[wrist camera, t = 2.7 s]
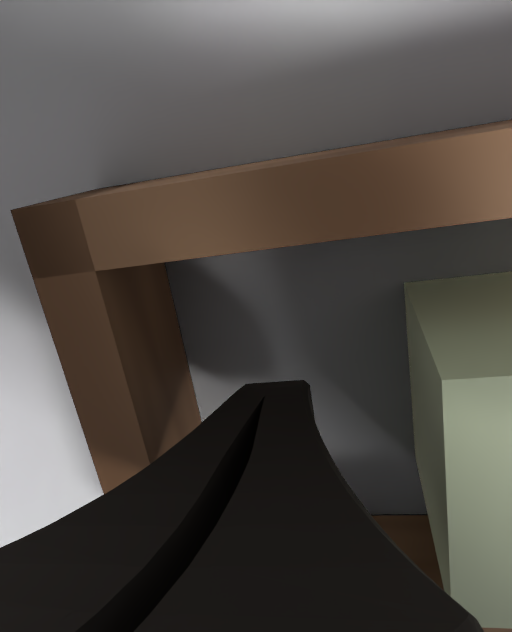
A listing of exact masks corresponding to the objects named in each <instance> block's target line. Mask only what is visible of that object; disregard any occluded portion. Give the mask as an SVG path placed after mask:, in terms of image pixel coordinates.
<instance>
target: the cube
mask: <svg viewBox="0 0 512 632" xmlns="http://www.w3.org/2000/svg"><path fill="white" fill-rule="evenodd" d="M404 293H405V309H406V324H407V339H408V354H409V369H410V385H411V400H412V415H413V430H414V445H415V458H416V463H417V467H418V472H419V476H420V481H421V486H422V490H423V495H424V499H425V504H426V509H427V513H428V518H429V522H430V527H431V532H432V536H433V541H434V545H435V550H436V555H437V559H438V564H439V568H440V573H441V578H442V582H443V587H444V591H445V592H446V593H447V594H448V595H449V596H450V597H452V598H453V599H454V600H455V601H456V602H458V603H459V604H460V605H461V606H462V607H463V608H465V609H466V610H467V611H468V612H469V613H470V614H472V615H473V616H474V617H475V618H476V619H477V620H478V622H479V624H480V625H481V627H483V628H509V629H512V271H510V272H501V273H491V274H482V275H472V276H463V277H453V278H444V279H434V280H425V281H415V282H406V283H404Z"/></svg>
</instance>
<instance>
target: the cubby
mask: <svg viewBox="0 0 512 632" xmlns="http://www.w3.org/2000/svg"><path fill="white" fill-rule="evenodd" d="M11 213H12V217H13V220H14V223H15V226H16V229H17V232H18V235H19V238H20V241H21V244H22V247H23V250H24V253H25V256H26V259H27V262H28V265H29V268H30V271H31V274H32V277H33V280H34V283H35V286H36V289H37V292H38V295H39V298H40V302H41V305H42V308H43V311H44V314H45V317H46V320H47V323H48V326H49V329H50V332H51V335H52V338H53V341H54V344H55V347H56V350H57V353H58V356H59V359H60V362H61V365H62V368H63V371H64V374H65V377H66V380H67V383H68V386H69V390H70V393H71V396H72V399H73V402H74V405H75V408H76V411H77V414H78V417H79V420H80V423H81V426H82V429H83V432H84V435H85V438H86V441H87V444H88V447H89V450H90V453H91V456H92V459H93V462H94V465H95V468H96V471H97V475H98V478H99V481H100V484H101V487H102V490H103V493H104V494H106V493H107V492H109V491H111V490H112V489H114V488H115V487H117V486H118V485H120V484H121V483H123V482H125V481H126V480H128V479H129V478H131V477H132V476H134V475H135V474H137V473H138V472H140V471H141V470H143V469H144V468H145V467H147V466H148V465H150V464H151V463H152V462H154V461H155V460H156V459H158V458H159V457H160V456H162V455H163V454H164V453H165V452H167V451H168V450H169V449H170V448H172V447H173V446H174V445H175V444H177V443H178V442H179V441H180V440H182V439H183V438H184V437H185V436H187V435H188V434H189V433H190V432H192V431H193V430H194V429H195V428H196V427H197V426H199V425H200V424H201V423H202V422H201V418H200V414H199V409H198V405H197V401H196V396H195V392H194V388H193V384H192V379H191V375H190V371H189V366H188V362H187V358H186V354H185V349H184V345H183V341H182V337H181V332H180V328H179V324H178V319H177V315H176V311H175V307H174V302H173V298H172V294H171V290H170V285H169V281H168V277H167V272H166V268H165V264H164V262H171V261H179V260H187V259H194V258H202V257H210V256H218V255H226V254H233V253H241V252H249V251H257V250H265V249H272V248H280V247H288V246H296V245H304V244H312V243H319V242H327V241H335V240H343V239H351V238H358V237H366V236H374V235H382V234H390V233H397V232H405V231H413V230H421V229H429V228H436V227H444V226H452V225H460V224H468V223H476V222H483V221H491V220H499V219H507V218H512V120H506V121H500V122H494V123H488V124H482V125H476V126H470V127H464V128H458V129H452V130H446V131H440V132H434V133H428V134H422V135H416V136H410V137H404V138H399V139H393V140H387V141H381V142H375V143H369V144H363V145H357V146H351V147H345V148H339V149H333V150H327V151H321V152H315V153H309V154H303V155H297V156H291V157H285V158H279V159H273V160H267V161H261V162H256V163H250V164H244V165H238V166H232V167H226V168H220V169H214V170H208V171H202V172H196V173H190V174H184V175H178V176H172V177H166V178H160V179H154V180H148V181H142V182H136V183H130V184H124V185H119V186H113V187H107V188H101V189H95V190H91V191H87V192H83V193H79V194H74V195H70V196H66V197H62V198H58V199H54V200H50V201H46V202H42V203H38V204H34V205H30V206H25V207H21V208H17V209H13V210H11ZM372 517H373V518H374V519H375V521H376V522H377V523H378V524H379V525H380V526H381V528H382V529H383V530H384V531H385V532H386V533H387V534H388V536H389V537H390V538H391V539H392V540H393V541H394V542H395V544H396V545H397V546H398V547H399V548H400V549H401V550H402V551H403V552H404V553H405V554H406V555H407V556H408V557H409V558H410V559H411V560H412V561H413V562H414V563H415V564H416V565H417V566H418V567H419V568H420V569H421V570H422V571H423V572H424V573H425V574H426V575H427V576H428V577H429V578H431V579H432V580H433V581H434V582H435V583H436V584H437V585H438V586H439V587H440V588H442V589H443V590H444V587H443V582H442V578H441V573H440V568H439V564H438V559H437V555H436V550H435V545H434V541H433V536H432V532H431V527H430V522H429V518H428V515H379V516H372ZM482 629H483V631H484V632H512V629H509V628H483V627H482Z"/></svg>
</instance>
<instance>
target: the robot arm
mask: <svg viewBox="0 0 512 632" xmlns="http://www.w3.org/2000/svg"><path fill="white" fill-rule="evenodd" d="M0 632H484V631H483V629H482V627H481V625H480V624H479V622H478V620H477V619H476V618H475V617H474V616H473V615H472V614H470V613H469V612H468V611H467V610H466V609H465V608H463V607H462V606H461V605H460V604H459V603H458V602H456V601H455V600H454V599H453V598H452V597H450V596H449V595H448V594H447V593H446V592H445V591H444V590H443V589H442V588H440V587H439V586H438V585H437V584H436V583H435V582H434V581H433V580H432V579H431V578H429V577H428V576H427V575H426V574H425V573H424V572H423V571H422V570H421V569H420V568H419V567H418V566H417V565H416V564H415V563H414V562H413V561H412V560H411V559H410V558H409V557H408V556H407V555H406V554H405V553H404V552H403V551H402V550H401V549H400V548H399V547H398V546H397V545H396V544H395V542H394V541H393V540H392V539H391V538H390V537H389V536H388V534H387V533H386V532H385V531H384V530H383V529H382V528H381V526H380V525H379V524H378V523H377V522H376V521H375V519H374V518H373V517H372V516H371V515H370V514H369V513H368V511H367V510H366V509H365V508H364V506H363V505H362V504H361V502H360V501H359V499H358V498H357V497H356V495H355V494H354V493H353V491H352V490H351V488H350V487H349V485H348V484H347V482H346V481H345V479H344V478H343V476H342V475H341V473H340V472H339V470H338V468H337V467H336V465H335V463H334V461H333V460H332V458H331V456H330V454H329V452H328V450H327V448H326V446H325V444H324V442H323V440H322V438H321V436H320V433H319V431H318V428H317V426H316V423H315V418H314V411H313V404H312V397H311V390H310V385H309V384H308V383H307V382H306V381H304V380H296V381H282V382H268V383H253V384H245V385H244V386H243V387H241V388H240V389H239V390H238V391H237V392H235V393H234V394H233V395H232V396H231V397H230V398H229V399H228V400H226V401H225V402H224V403H223V404H222V405H221V406H220V407H219V408H218V409H217V410H215V411H214V412H213V413H212V414H211V415H210V416H209V417H208V418H206V419H205V420H204V421H203V422H202V423H201V424H200V425H199V426H197V427H196V428H195V429H194V430H193V431H192V432H190V433H189V434H188V435H187V436H185V437H184V438H183V439H182V440H180V441H179V442H178V443H177V444H175V445H174V446H173V447H172V448H170V449H169V450H168V451H167V452H165V453H164V454H163V455H162V456H160V457H159V458H158V459H156V460H155V461H154V462H152V463H151V464H150V465H148V466H147V467H145V468H144V469H143V470H141V471H140V472H138V473H137V474H135V475H134V476H132V477H131V478H129V479H128V480H126V481H125V482H123V483H121V484H120V485H118V486H117V487H115V488H114V489H112V490H111V491H109V492H107V493H106V494H104V495H102V496H101V497H99V498H97V499H95V500H93V501H92V502H90V503H88V504H86V505H84V506H83V507H81V508H79V509H77V510H75V511H74V512H72V513H70V514H68V515H66V516H65V517H63V518H61V519H59V520H57V521H56V522H54V523H52V524H50V525H48V526H46V527H44V528H42V529H40V530H37V531H35V532H33V533H31V534H29V535H27V536H25V537H23V538H21V539H19V540H17V541H14V542H12V543H10V544H8V545H5V546H3V547H1V548H0Z"/></svg>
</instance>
